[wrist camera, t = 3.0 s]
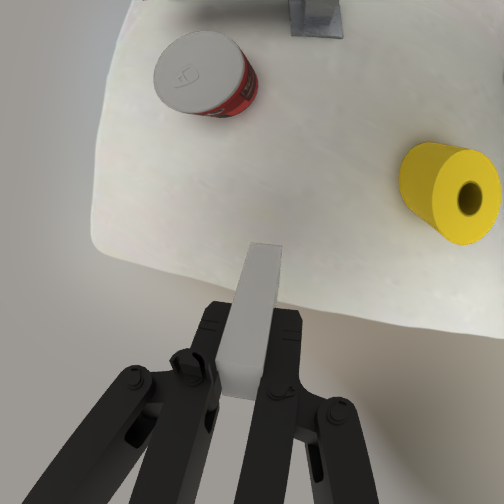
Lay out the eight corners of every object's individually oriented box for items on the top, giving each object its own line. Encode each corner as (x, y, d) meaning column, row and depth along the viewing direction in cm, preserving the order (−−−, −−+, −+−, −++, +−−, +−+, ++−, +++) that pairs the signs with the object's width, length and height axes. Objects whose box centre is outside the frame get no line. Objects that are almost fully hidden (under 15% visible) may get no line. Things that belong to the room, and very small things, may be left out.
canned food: (181, 92, 29) (136, 80, 19) (227, 47, 26) (199, 14, 16) (223, 131, 31) (193, 132, 21) (272, 86, 28) (263, 65, 18)
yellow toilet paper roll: (384, 186, 31) (414, 207, 22) (424, 126, 27) (465, 128, 18) (433, 231, 32) (467, 261, 24) (470, 176, 28) (512, 193, 19)
